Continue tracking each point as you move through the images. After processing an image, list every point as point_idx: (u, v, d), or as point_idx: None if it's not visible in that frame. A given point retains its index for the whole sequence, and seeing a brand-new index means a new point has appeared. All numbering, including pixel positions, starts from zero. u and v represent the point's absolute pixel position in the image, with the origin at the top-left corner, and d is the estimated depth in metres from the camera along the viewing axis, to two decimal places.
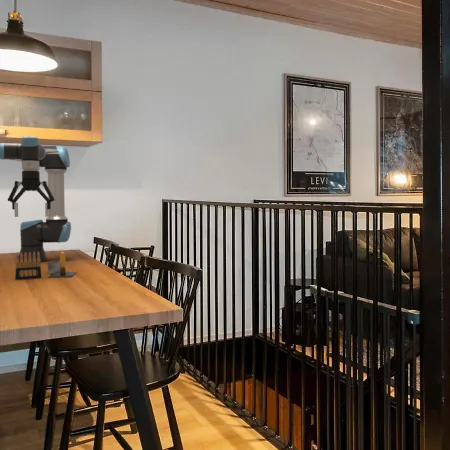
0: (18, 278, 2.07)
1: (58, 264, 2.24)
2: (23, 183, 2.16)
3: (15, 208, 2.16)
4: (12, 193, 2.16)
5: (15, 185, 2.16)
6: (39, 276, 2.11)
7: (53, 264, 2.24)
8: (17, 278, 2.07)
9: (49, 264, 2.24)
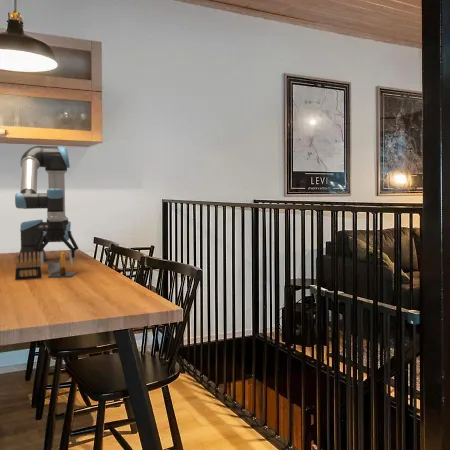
0: (18, 278, 2.07)
1: (58, 264, 2.24)
2: (48, 233, 2.25)
3: (41, 257, 2.25)
4: (38, 243, 2.25)
5: (41, 235, 2.25)
6: (39, 276, 2.11)
7: (53, 264, 2.24)
8: (17, 278, 2.07)
9: (49, 264, 2.24)
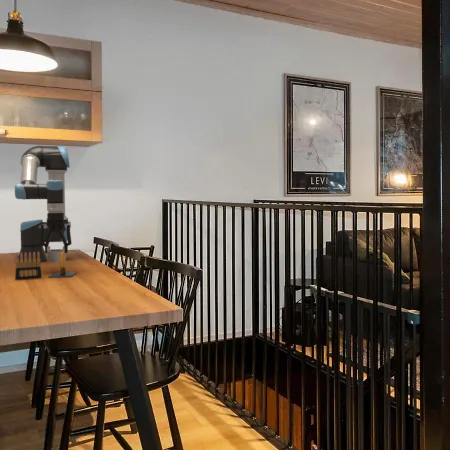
0: (18, 278, 2.07)
1: (58, 252, 2.25)
2: (48, 224, 2.25)
3: None
4: (42, 237, 2.25)
5: (42, 229, 2.25)
6: (39, 276, 2.11)
7: (53, 252, 2.24)
8: (17, 278, 2.07)
9: (49, 252, 2.24)
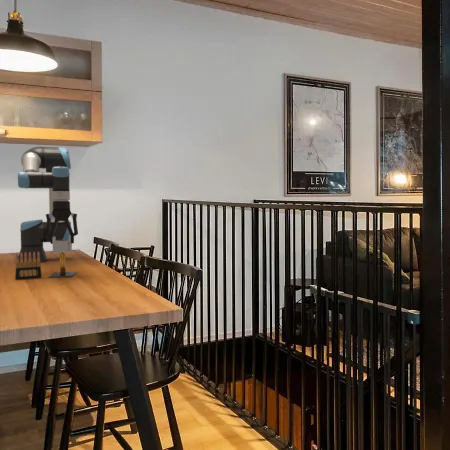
0: (18, 278, 2.07)
1: (64, 242, 2.14)
2: (54, 213, 2.15)
3: None
4: (48, 227, 2.15)
5: (47, 218, 2.15)
6: (39, 276, 2.11)
7: (58, 242, 2.14)
8: (17, 278, 2.07)
9: (54, 242, 2.14)
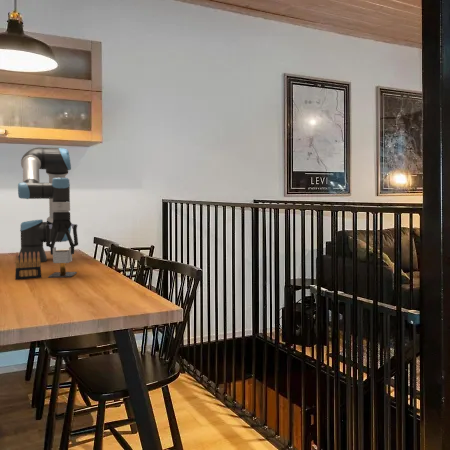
0: (18, 278, 2.07)
1: (64, 253, 2.15)
2: (54, 224, 2.15)
3: None
4: (48, 237, 2.15)
5: (48, 229, 2.15)
6: (39, 276, 2.11)
7: (59, 253, 2.14)
8: (17, 278, 2.07)
9: (55, 253, 2.14)
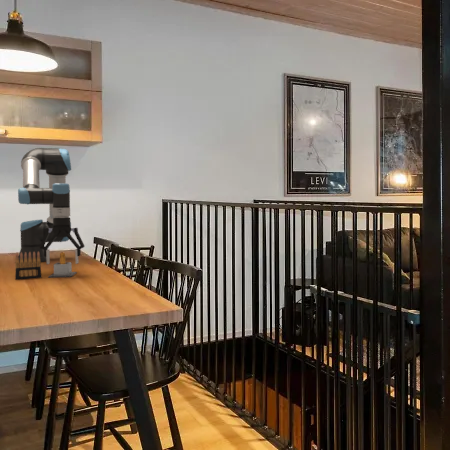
0: (18, 278, 2.07)
1: (64, 266, 2.15)
2: (54, 230, 2.16)
3: (47, 255, 2.16)
4: (44, 240, 2.15)
5: (46, 232, 2.15)
6: (39, 276, 2.11)
7: (59, 266, 2.15)
8: (17, 278, 2.07)
9: (55, 266, 2.15)
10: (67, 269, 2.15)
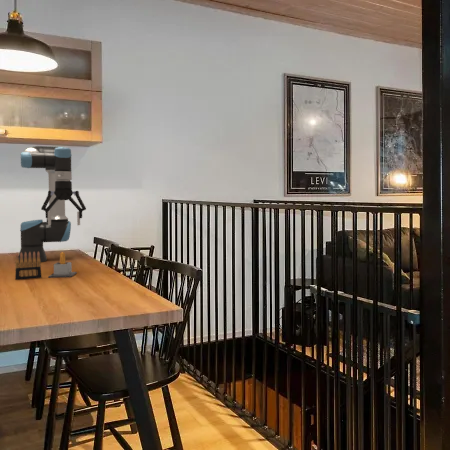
0: (18, 278, 2.07)
1: (64, 266, 2.15)
2: (56, 193, 2.23)
3: (48, 217, 2.24)
4: (45, 202, 2.23)
5: (48, 195, 2.23)
6: (39, 276, 2.11)
7: (59, 266, 2.15)
8: (17, 278, 2.07)
9: (55, 266, 2.15)
10: (67, 269, 2.15)
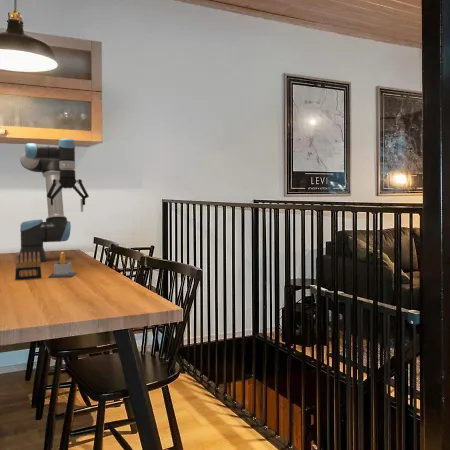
0: (18, 278, 2.07)
1: (64, 266, 2.15)
2: (61, 181, 2.38)
3: (53, 204, 2.38)
4: (51, 190, 2.37)
5: (53, 183, 2.37)
6: (39, 276, 2.11)
7: (59, 266, 2.15)
8: (17, 278, 2.07)
9: (55, 266, 2.15)
10: (67, 269, 2.15)
